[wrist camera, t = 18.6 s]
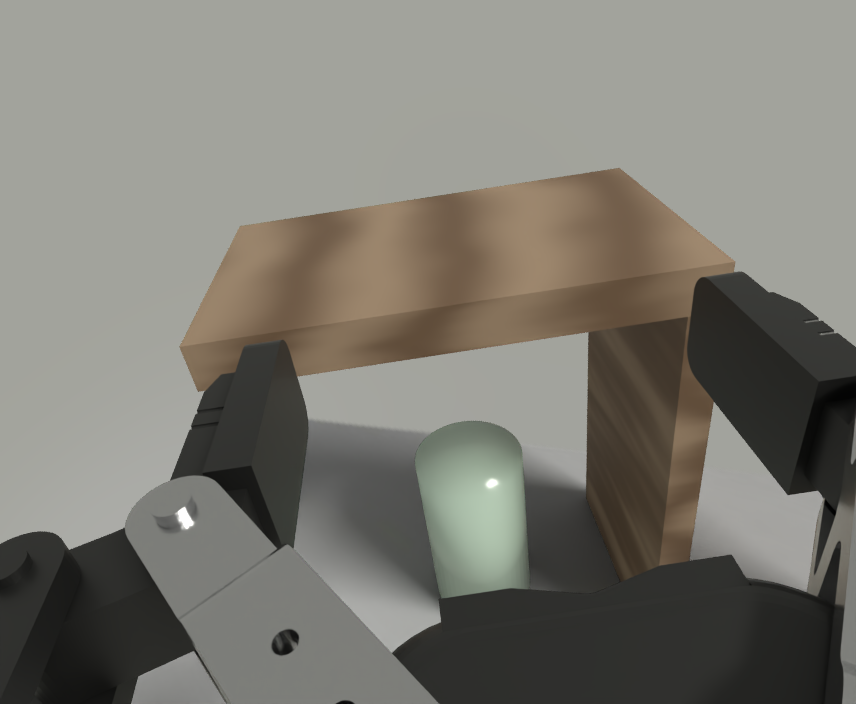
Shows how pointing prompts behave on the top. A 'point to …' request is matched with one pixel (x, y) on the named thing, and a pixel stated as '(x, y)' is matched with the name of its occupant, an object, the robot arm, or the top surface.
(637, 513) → the overhanging shelf
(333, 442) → the top surface
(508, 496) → the pillar candle
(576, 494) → the top surface
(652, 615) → the robot arm
